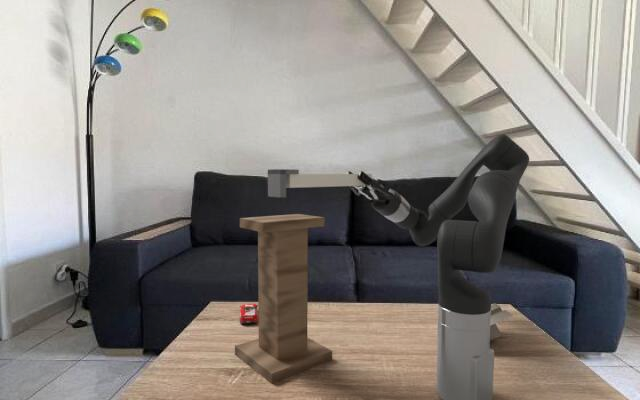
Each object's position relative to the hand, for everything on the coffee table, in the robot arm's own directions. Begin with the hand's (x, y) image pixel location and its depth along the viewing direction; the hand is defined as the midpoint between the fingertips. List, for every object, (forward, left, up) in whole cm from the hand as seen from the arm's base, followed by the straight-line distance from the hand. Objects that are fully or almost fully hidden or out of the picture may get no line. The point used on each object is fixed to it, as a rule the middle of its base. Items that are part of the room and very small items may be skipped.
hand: (353, 174), depth 100 cm
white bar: (0, +10, -5) cm, 11 cm away
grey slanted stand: (-22, -22, -42) cm, 53 cm away
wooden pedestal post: (0, +22, -42) cm, 47 cm away
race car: (+27, +16, -42) cm, 52 cm away
